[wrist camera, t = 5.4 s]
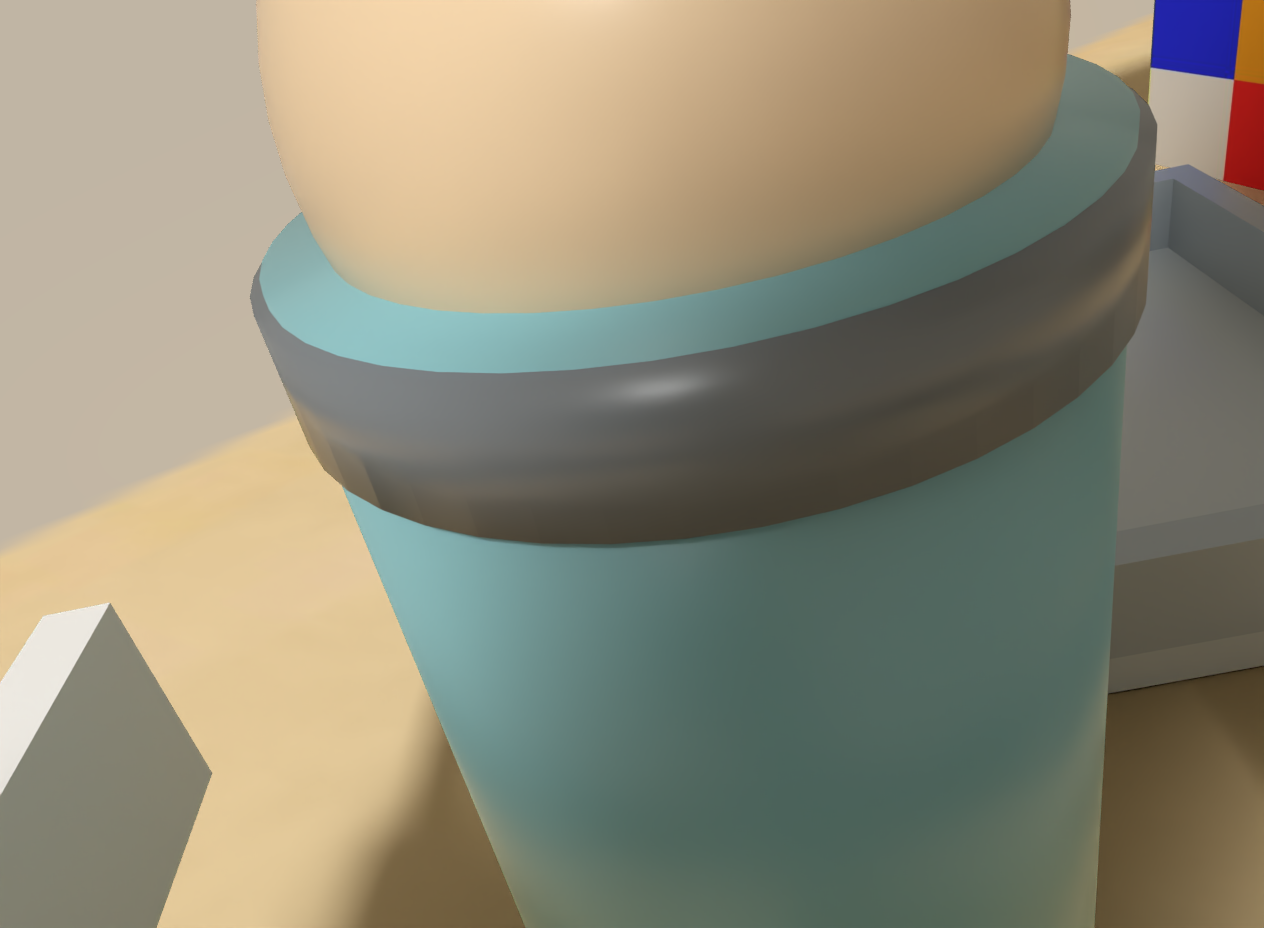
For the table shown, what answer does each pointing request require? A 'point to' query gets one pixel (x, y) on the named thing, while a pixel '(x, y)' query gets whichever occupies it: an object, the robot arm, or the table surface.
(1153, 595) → the tray
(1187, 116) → the puzzle toy
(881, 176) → the ball tube
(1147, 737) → the table surface
